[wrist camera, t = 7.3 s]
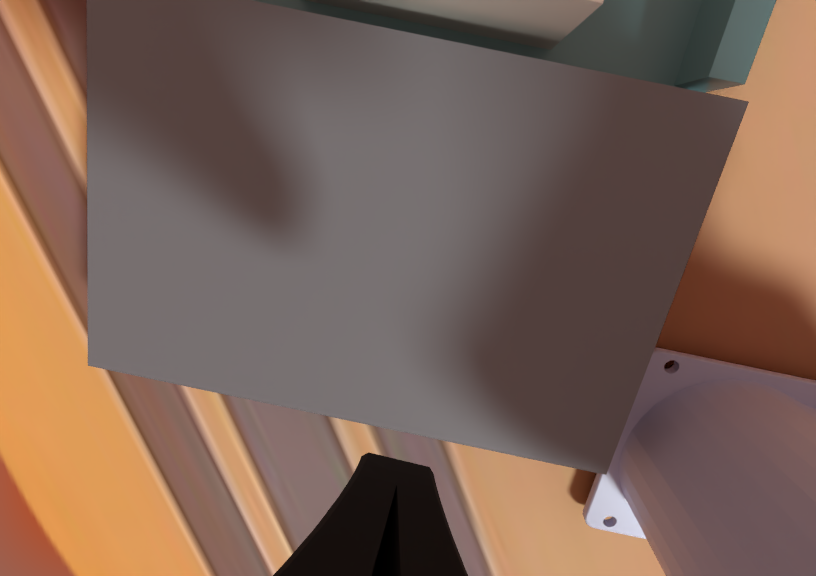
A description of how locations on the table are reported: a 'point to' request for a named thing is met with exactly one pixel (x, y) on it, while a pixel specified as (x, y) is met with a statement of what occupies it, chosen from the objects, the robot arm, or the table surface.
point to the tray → (627, 39)
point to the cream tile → (487, 16)
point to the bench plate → (387, 222)
